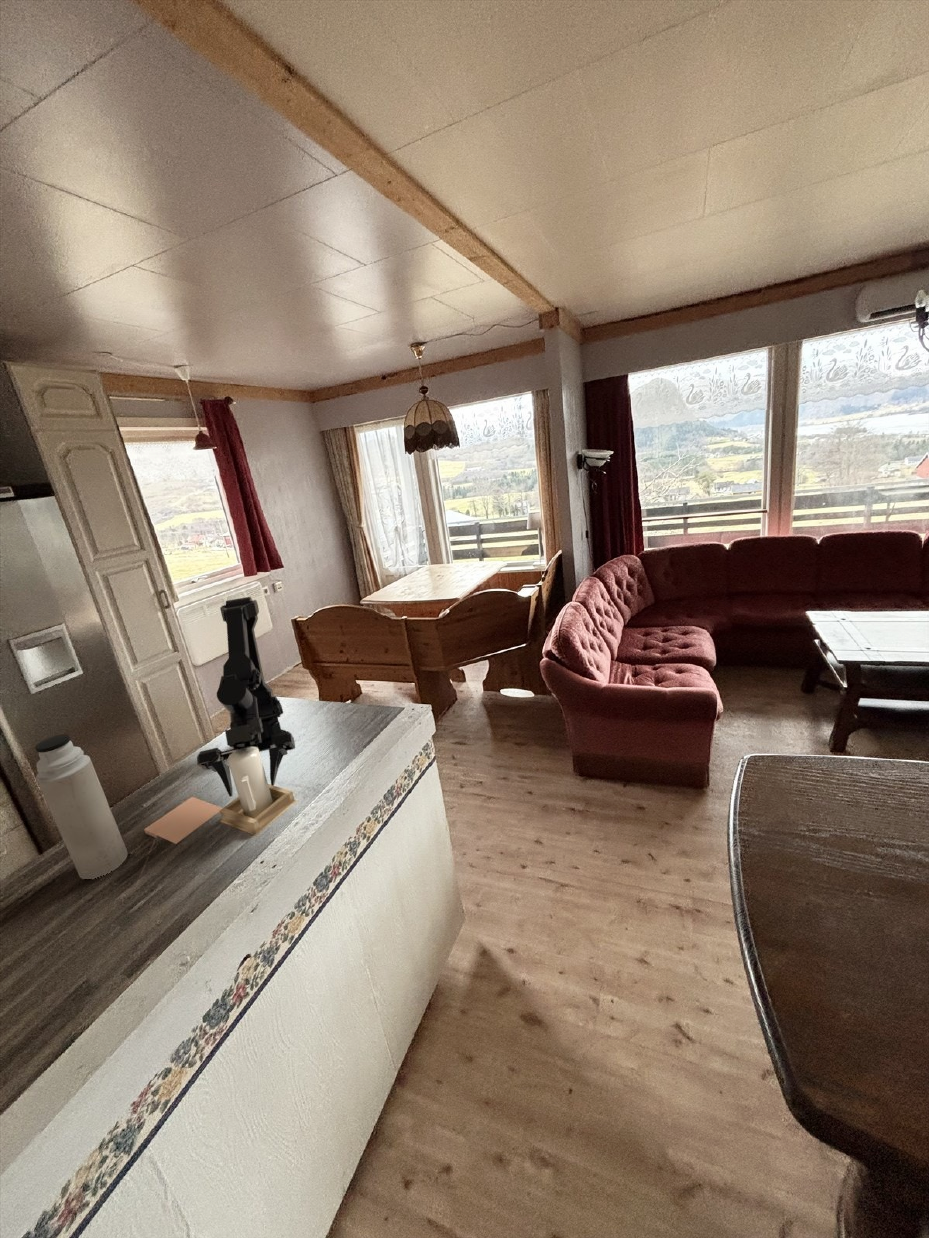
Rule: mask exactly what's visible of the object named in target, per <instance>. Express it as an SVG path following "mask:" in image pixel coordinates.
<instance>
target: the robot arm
mask: <svg viewBox="0 0 929 1238" xmlns="http://www.w3.org/2000/svg"><path fill="white" fill-rule="evenodd" d="M259 609H260V608H259V604H258V601H257V600H256V599H254V600H253V598H252V597H251V596H247V597H245V596H244V597H240V598H234V599H227V600H226V601H225V604H224V605H221V606H220V607H219V610H220V613H221V618H222V622H225V624H226V633H227V648H228V650H227V651H228V658H227V660H226V661H225V663H224V664H223V672H222V673H223V674H222V675H221V676H220V681H219V685H218V688H217V691H216V697H217V701H218V702H220V704H221V705H222V706H223V708H224V709H226V710H227V711H228V712H229V716H230V724H229V726H230V728H229V729H225V730H224V733H225V734H224V735H225V738H226V739H225V740H226V745H227V746H229V747H230V748H232V749H228V750H224V751H222V750H221V749H219V748H218V747H214V748H210V749H209V748H208V749H205V750H202V751H201V750H200V751H199V752H198V754H197V756H196V765H197V766H198V767H200V768H202V769H203V770H205V771H210V770H211V771H213V772H214V773H215V772H216V774H217V775H218V776H219V777H220V780H221V781H222V783H223V785H224V788H225V790H226V792H227V794H228V796H229V797H233V785H232V784H233V783H232V778H231V777H232V775H231V769H230V766H229V764H227V763H226V762H227V761H228V757H229V756H230V755H231V754H232V753H233V752H235V751H236V750H239V749H241V748H244V747H250V746H253V747H257V748H258V749H259V752H265V751H268V753H269V755H268V756H269V777H270V778H269V779H270V785H272V786H275V782H276V779H277V774H278V771H279V767H280V765H281V762H282V760H283V758H284V756H286V755H288V751H292V750H295V749H296V743H295V738H294V736H293V735H292V732H290V731H287V730H285V729H282V727H281V724H280V721H279V718H281V716H282V715H284V709H283V706H282V704H281V702H280V700H279V699H278V697H277V696H276V695H274V690H273V689H272V688H271V687H270V686H269V685H268V684H267V683H266V682H265V679H264V677H265V676H264V673H263V672H264V671H263V668H262V667H263V666H262V663H261V659H260V653H259V648H258V644H257V639H256V638H257V637H256V634H255V633H256V632H255V628H256V625H257V624H258V620H259V617H258V615H259V613H260V611H259Z"/></svg>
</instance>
